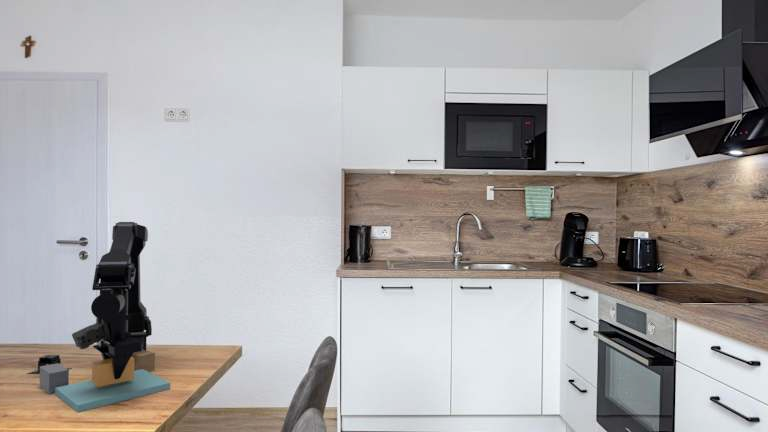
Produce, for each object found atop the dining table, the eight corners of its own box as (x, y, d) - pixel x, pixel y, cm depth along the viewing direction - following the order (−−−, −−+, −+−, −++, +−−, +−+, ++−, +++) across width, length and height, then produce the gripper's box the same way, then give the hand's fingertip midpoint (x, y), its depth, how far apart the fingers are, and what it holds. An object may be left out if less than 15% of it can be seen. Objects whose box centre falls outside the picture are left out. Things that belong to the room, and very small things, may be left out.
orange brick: (128, 375, 123) (128, 355, 123) (134, 379, 120) (134, 358, 120) (92, 383, 117) (92, 361, 117) (97, 387, 114) (97, 365, 114)
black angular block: (16, 377, 130) (16, 359, 130) (36, 368, 138) (36, 352, 138) (63, 377, 130) (63, 360, 130) (80, 369, 137) (80, 352, 137)
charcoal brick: (39, 387, 122) (39, 366, 122) (58, 383, 125) (58, 363, 125) (48, 394, 116) (49, 373, 116) (68, 390, 119) (68, 369, 119)
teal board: (142, 374, 131) (142, 368, 131) (170, 388, 121) (170, 382, 121) (55, 394, 116) (55, 387, 116) (77, 412, 106) (77, 405, 106)
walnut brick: (123, 369, 136) (123, 351, 136) (137, 366, 139) (137, 348, 139) (140, 374, 131) (140, 356, 132) (154, 371, 135) (154, 352, 135)
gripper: (63, 310, 119) (62, 376, 119) (90, 322, 106) (89, 395, 106) (113, 305, 127) (112, 366, 127) (144, 315, 115) (143, 382, 115)
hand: (113, 376), depth 118 cm, fingers closed on orange brick, 4 cm apart
